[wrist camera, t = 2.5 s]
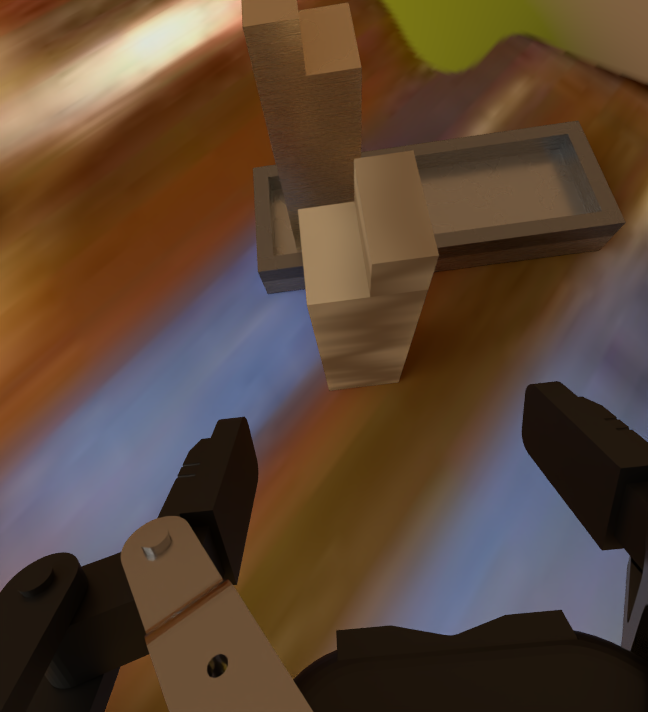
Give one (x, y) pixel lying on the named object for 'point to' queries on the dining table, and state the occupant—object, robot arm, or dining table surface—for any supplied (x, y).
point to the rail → (434, 159)
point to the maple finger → (369, 271)
